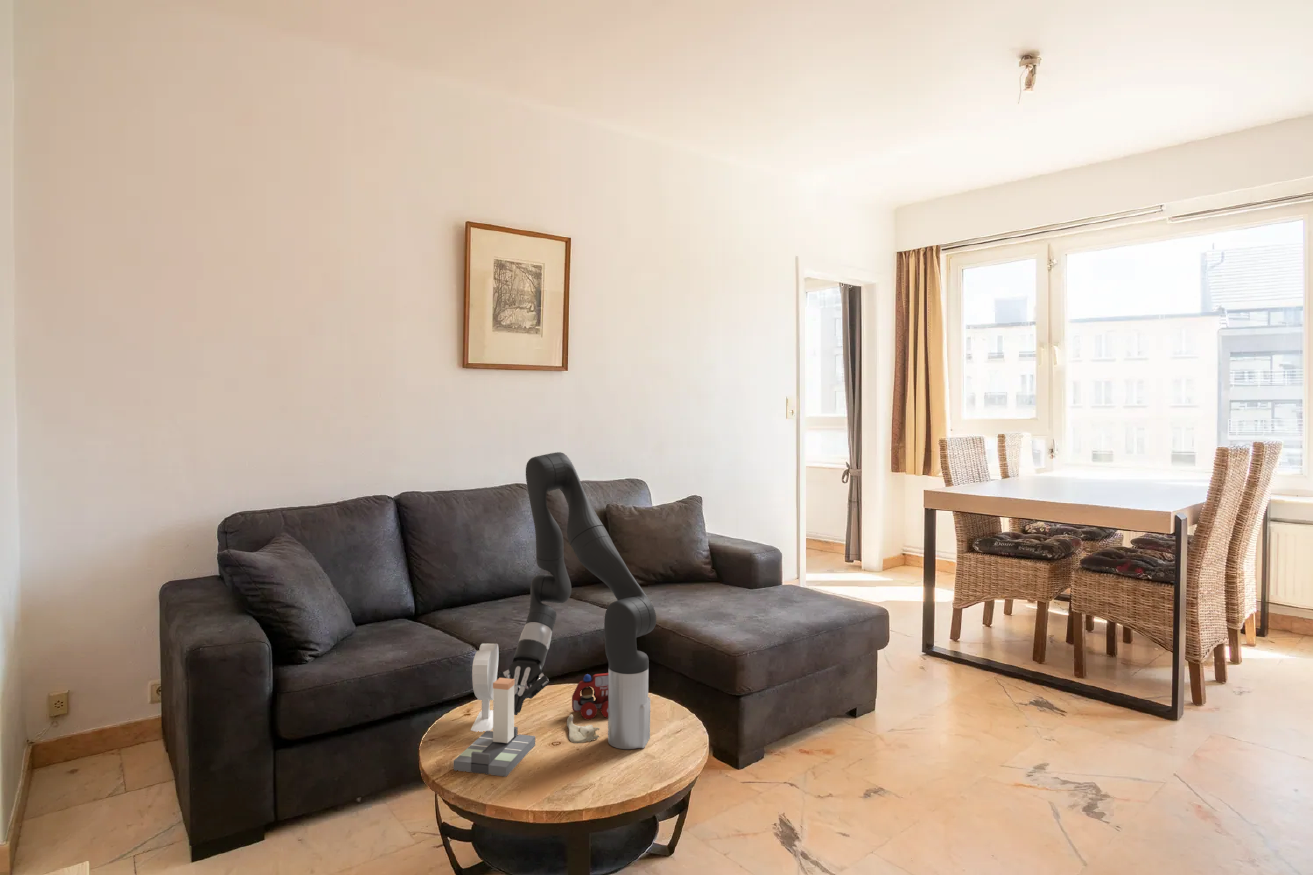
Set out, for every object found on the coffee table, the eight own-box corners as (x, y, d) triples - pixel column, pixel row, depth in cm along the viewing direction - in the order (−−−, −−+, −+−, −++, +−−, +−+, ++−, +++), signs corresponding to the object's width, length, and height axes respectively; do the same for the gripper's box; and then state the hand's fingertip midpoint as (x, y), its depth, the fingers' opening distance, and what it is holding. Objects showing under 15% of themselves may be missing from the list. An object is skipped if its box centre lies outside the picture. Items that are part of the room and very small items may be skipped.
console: (535, 744, 176) (535, 727, 176) (506, 776, 160) (506, 757, 160) (486, 739, 179) (486, 722, 178) (453, 769, 163) (453, 751, 163)
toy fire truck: (570, 710, 196) (570, 670, 196) (617, 706, 199) (618, 666, 199) (573, 721, 190) (574, 679, 189) (623, 717, 193) (623, 675, 192)
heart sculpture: (481, 708, 197) (481, 638, 197) (501, 708, 197) (501, 638, 197) (468, 733, 182) (469, 657, 181) (490, 733, 182) (490, 657, 181)
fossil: (591, 724, 189) (592, 710, 189) (600, 742, 179) (600, 727, 178) (563, 726, 187) (563, 712, 187) (570, 745, 177) (570, 730, 177)
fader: (514, 736, 175) (514, 679, 174) (507, 743, 171) (508, 684, 171) (499, 734, 175) (499, 677, 175) (492, 741, 172) (492, 682, 172)
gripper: (504, 635, 189) (481, 703, 177) (555, 640, 186) (535, 709, 174) (512, 650, 194) (491, 717, 182) (562, 655, 191) (543, 723, 179)
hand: (513, 713), depth 178 cm, fingers closed
